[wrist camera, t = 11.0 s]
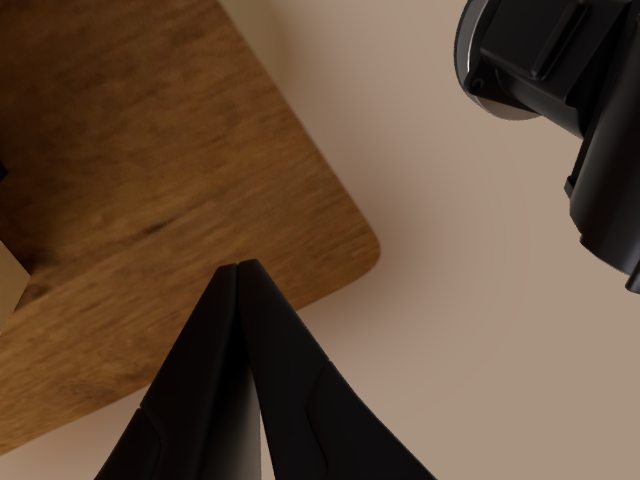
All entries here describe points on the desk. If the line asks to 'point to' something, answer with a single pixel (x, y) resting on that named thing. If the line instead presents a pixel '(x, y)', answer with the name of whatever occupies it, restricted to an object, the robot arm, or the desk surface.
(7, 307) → the loaf cake
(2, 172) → the cake knife
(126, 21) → the desk surface
